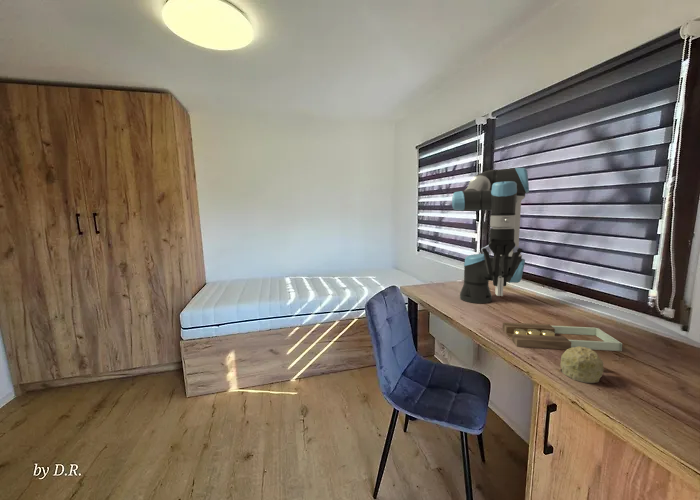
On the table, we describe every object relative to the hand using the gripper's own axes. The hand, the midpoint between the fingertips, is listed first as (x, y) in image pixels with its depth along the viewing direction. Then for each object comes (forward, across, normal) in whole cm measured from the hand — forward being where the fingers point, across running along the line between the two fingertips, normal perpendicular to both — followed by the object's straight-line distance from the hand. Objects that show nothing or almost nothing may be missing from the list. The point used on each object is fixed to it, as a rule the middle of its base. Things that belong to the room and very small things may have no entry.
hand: (499, 294), depth 104 cm
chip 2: (+15, +12, 0) cm, 20 cm away
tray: (+16, +28, 0) cm, 32 cm away
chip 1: (+15, +8, 0) cm, 17 cm away
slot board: (+16, +12, 0) cm, 20 cm away
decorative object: (+17, +16, -21) cm, 31 cm away
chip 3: (+15, +16, 0) cm, 22 cm away
